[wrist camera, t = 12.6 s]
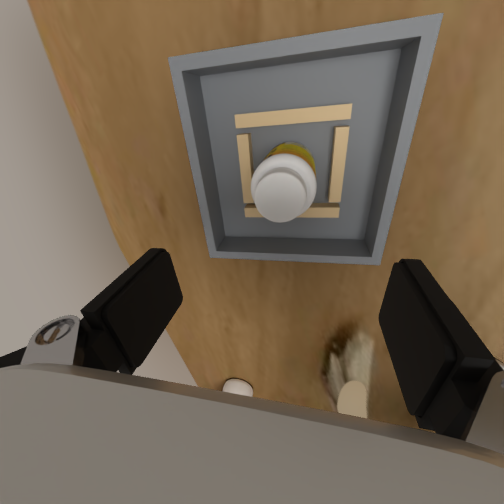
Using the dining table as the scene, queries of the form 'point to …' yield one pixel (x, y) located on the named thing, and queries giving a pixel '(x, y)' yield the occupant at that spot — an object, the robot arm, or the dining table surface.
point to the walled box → (306, 135)
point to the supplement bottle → (284, 182)
